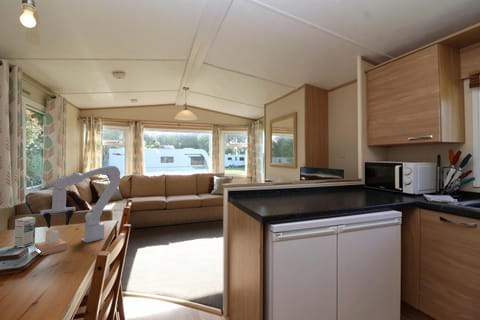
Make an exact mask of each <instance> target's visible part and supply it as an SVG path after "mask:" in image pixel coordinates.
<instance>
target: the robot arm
mask: <svg viewBox="0 0 480 320" xmlns="http://www.w3.org/2000/svg"><path fill="white" fill-rule="evenodd" d="M98 175H99V176H100V175H101V176H102V175H103V176H104V175H105V176H106V177H107V178H108V180H109V184H108V185H107V186H106V188H105V190H104V191H103V192H102V194H101V195H100V197H99V199H98V200H97V202H96V203H95V204H94V206H93V207H92V208H91V210H89V211H88V212H87V213H86V214H85V215H84V220H85V221H86V222H85V223H84V233H83V237H82V238H81V239H80V240H81V241H82V242H84V243H86V244H87V243H90V242H91V243H92V242H95V241H96V242H97V241H99V240H101V241H102V240H105V224H104V222H100V220H101V216H102V214H103V212H104V211H103V210H104V209H105V208H106V206H107V204H108V203H109V201H110V200H111V198H112V196H113V195H114V193H115V192H116V190H117V189H118V187H119V185H120V183H121V171H120V169H119V168H118V167H117V166H115V165H107V166H103V167H98V168H96V169H92V170H89V171H87V172H83V173H80V172H76V171H75V172H72V174H69V175H66V176H65V175H63V176H61V177H58V178H57V177H56V178H54V180H53V181H52V186H53V189H52V191H53V192H52V198H51V199H52V200H51V201H52V202H51V203H52V204H51V208H50V209H42V210H40V215H42V216H43V218H44V220H45V222H46V225H47V228H48V229H51V221H52V220H51V219H52V214H57V213H65V226H69V224H70V221H71V218H72V217H73V215H74V213H75V212H76V210H77V209H76V206H71V207H69V206H66V204H67V187H71V186H74V185H77V184H80V183H83V182H84V180H85V179H89V178H92V177H95V176H98Z"/></svg>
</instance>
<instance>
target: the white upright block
mask: <svg viewBox="0 0 480 320" xmlns="http://www.w3.org/2000/svg"><path fill="white" fill-rule="evenodd" d="M44 239H45V241H44V242H45V244H47V245H52V244H56V243H59V239H60V231H59V230H57V229H52V230H47V231H45V236H44Z"/></svg>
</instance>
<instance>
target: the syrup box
mask: <svg viewBox="0 0 480 320" xmlns="http://www.w3.org/2000/svg"><path fill="white" fill-rule="evenodd" d="M35 240H36V217H34V216H25V217H20V218H15V220H14V244H13V245H14V246H27V245H30V246H34V245H35V244H36V241H35ZM14 246H13V247H14ZM27 247H28V246H27Z"/></svg>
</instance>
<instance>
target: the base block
mask: <svg viewBox="0 0 480 320" xmlns="http://www.w3.org/2000/svg"><path fill="white" fill-rule="evenodd" d="M35 247H36V248H37V249H39V250H40V251H41V252H42V253H43V256H47V255H51V254H56V253H59V252H63V251H67V250H68V248H67V247H68V242H67V241H66V240H63V239H61V238H59V243H56V244H52V245H47V244H45V241H41V242H37V243H36V242H35V244H34V248H35Z"/></svg>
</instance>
